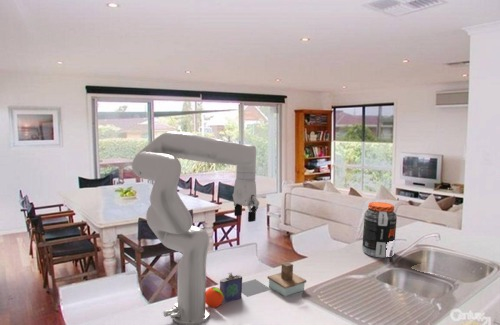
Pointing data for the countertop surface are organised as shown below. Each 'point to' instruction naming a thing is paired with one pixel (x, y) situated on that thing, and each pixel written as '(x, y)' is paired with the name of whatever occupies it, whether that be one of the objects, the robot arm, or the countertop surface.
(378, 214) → the supplement tub
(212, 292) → the clementine
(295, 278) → the lid
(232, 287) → the flask
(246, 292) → the mat
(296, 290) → the dish
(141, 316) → the countertop surface
